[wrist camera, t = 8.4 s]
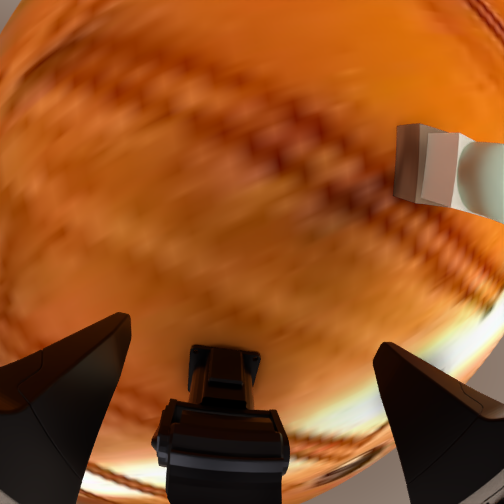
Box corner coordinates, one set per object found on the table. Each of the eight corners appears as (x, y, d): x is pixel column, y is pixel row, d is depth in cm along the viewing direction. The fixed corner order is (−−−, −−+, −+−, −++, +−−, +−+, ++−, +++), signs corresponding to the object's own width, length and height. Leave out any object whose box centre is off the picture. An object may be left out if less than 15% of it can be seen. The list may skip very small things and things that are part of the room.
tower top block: (461, 208, 18) (489, 218, 14) (420, 197, 17) (450, 207, 14) (468, 151, 16) (497, 154, 13) (428, 133, 16) (459, 132, 12)
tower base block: (440, 201, 21) (464, 209, 18) (391, 195, 21) (415, 203, 17) (445, 139, 19) (469, 140, 16) (395, 125, 19) (419, 123, 15)
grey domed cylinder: (486, 221, 14) (524, 237, 11) (448, 198, 14) (492, 212, 10) (500, 160, 13) (538, 168, 9) (464, 128, 12) (507, 129, 8)
